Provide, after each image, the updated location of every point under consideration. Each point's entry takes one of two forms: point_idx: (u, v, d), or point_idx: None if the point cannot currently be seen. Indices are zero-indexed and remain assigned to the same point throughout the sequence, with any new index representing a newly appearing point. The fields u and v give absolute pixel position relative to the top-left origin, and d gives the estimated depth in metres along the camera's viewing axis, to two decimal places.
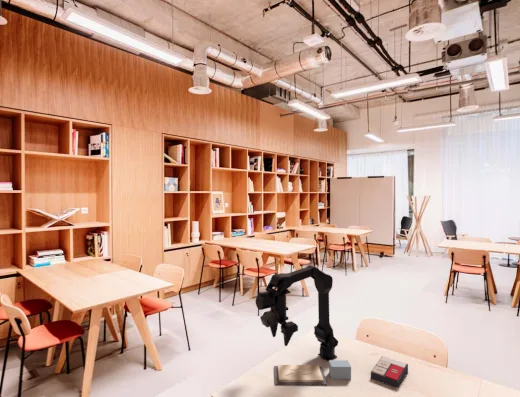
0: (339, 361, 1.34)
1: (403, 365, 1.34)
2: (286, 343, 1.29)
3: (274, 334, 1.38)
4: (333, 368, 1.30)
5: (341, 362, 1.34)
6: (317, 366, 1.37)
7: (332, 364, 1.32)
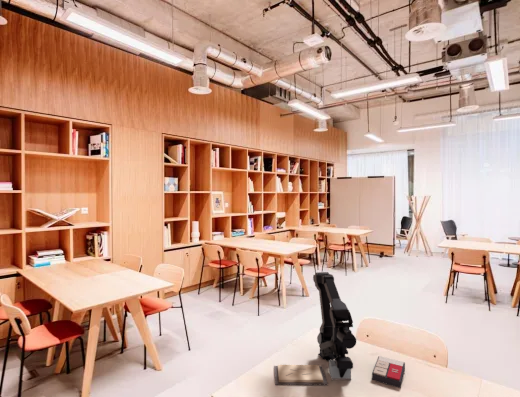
0: None
1: (401, 364, 1.35)
2: (341, 375, 1.30)
3: None
4: (333, 368, 1.30)
5: None
6: (317, 366, 1.37)
7: (332, 364, 1.32)
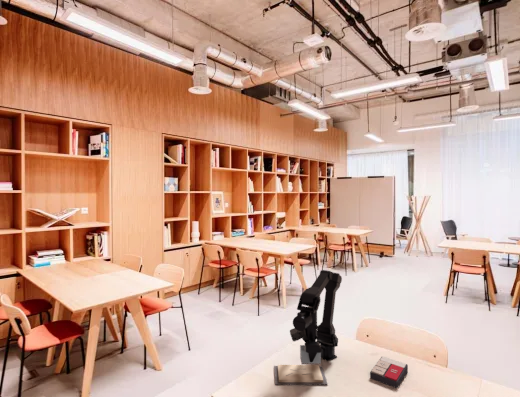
0: None
1: (403, 365, 1.34)
2: (311, 359, 1.30)
3: None
4: (303, 352, 1.30)
5: None
6: (317, 366, 1.37)
7: (302, 349, 1.32)
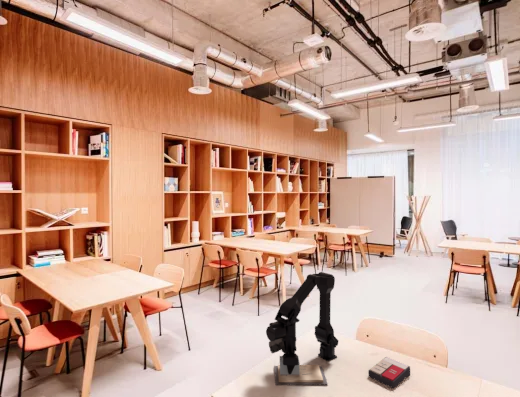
0: None
1: (404, 367, 1.33)
2: (289, 371, 1.30)
3: None
4: (282, 364, 1.31)
5: None
6: (317, 366, 1.37)
7: (281, 360, 1.32)
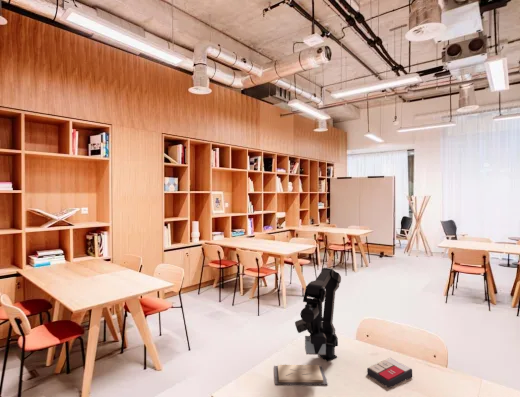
0: None
1: (405, 369, 1.31)
2: (316, 351, 1.30)
3: None
4: (308, 343, 1.30)
5: None
6: (317, 366, 1.37)
7: (307, 339, 1.32)
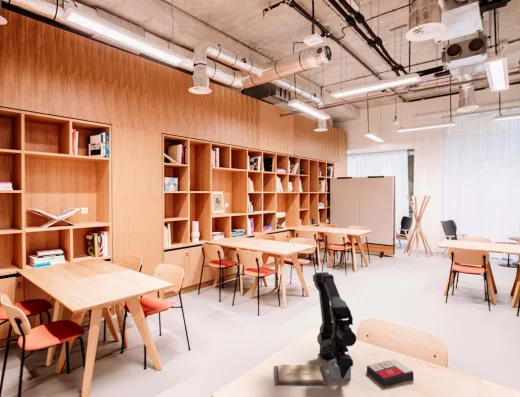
0: None
1: (406, 371, 1.30)
2: (342, 375, 1.28)
3: None
4: (333, 368, 1.30)
5: None
6: (317, 366, 1.37)
7: (332, 364, 1.32)
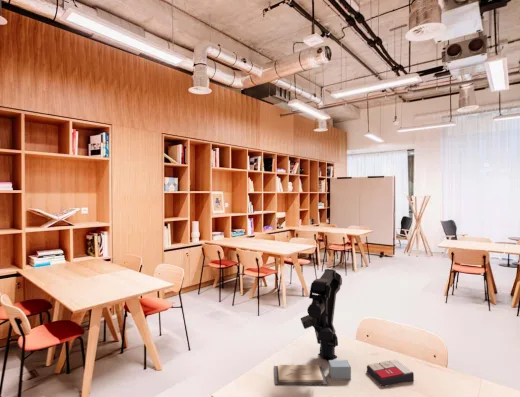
0: (338, 361, 1.34)
1: (406, 372, 1.29)
2: (323, 348, 1.32)
3: None
4: (333, 368, 1.30)
5: (341, 361, 1.34)
6: (317, 366, 1.37)
7: (332, 364, 1.32)
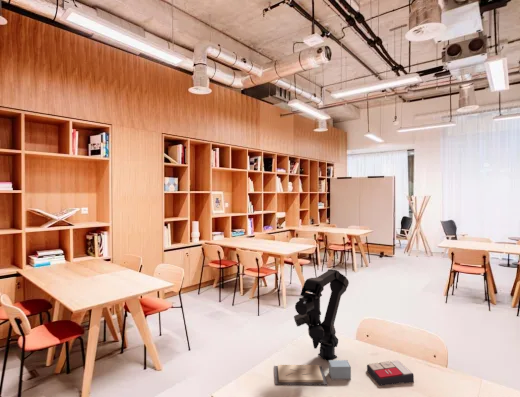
0: (338, 361, 1.34)
1: (405, 372, 1.29)
2: (315, 346, 1.34)
3: None
4: (333, 368, 1.30)
5: (341, 361, 1.34)
6: (317, 366, 1.37)
7: (332, 364, 1.32)
